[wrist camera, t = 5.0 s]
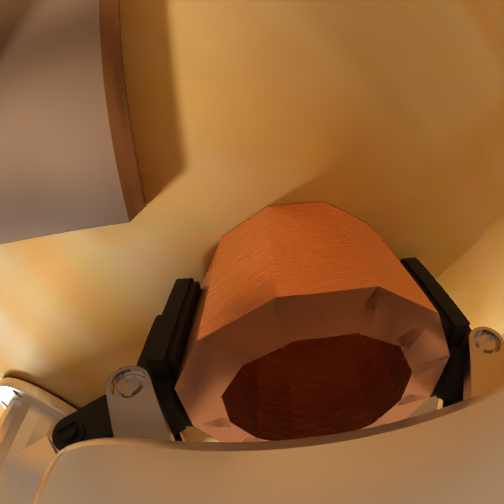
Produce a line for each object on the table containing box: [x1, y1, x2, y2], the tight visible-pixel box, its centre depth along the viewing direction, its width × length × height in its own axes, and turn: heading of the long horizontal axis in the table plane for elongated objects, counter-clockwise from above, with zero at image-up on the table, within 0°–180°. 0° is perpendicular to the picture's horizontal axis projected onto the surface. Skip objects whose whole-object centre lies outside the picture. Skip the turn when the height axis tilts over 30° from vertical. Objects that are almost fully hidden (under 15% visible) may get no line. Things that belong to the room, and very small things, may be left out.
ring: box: [175, 202, 450, 442], centre depth 9 cm, size 7×7×5 cm
